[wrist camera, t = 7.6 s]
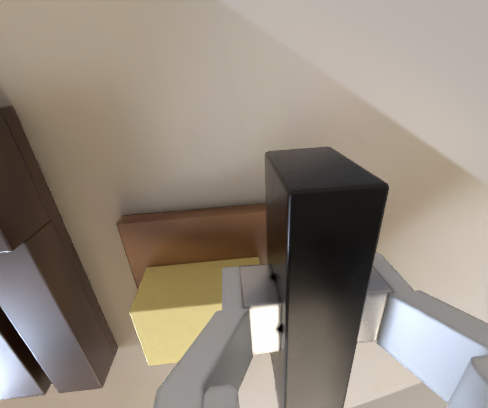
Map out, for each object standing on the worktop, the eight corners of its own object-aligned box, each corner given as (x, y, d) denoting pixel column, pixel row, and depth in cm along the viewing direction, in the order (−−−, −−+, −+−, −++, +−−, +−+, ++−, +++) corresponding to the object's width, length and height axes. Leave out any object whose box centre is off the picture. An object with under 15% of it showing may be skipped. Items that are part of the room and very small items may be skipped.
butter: (146, 266, 16) (128, 312, 13) (258, 256, 16) (266, 298, 13) (161, 316, 18) (148, 366, 15) (260, 306, 18) (268, 353, 15)
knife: (252, 130, 10) (287, 192, 4) (300, 126, 10) (392, 184, 4) (263, 387, 17) (281, 525, 12) (290, 384, 17) (320, 519, 12)
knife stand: (-139, 115, 12) (-278, 130, 9) (12, 105, 12) (-66, 116, 9) (29, 357, 21) (-9, 413, 17) (118, 348, 21) (97, 401, 17)
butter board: (121, 215, 16) (115, 223, 15) (348, 196, 16) (355, 202, 15) (161, 343, 21) (159, 355, 20) (330, 325, 22) (335, 336, 21)
